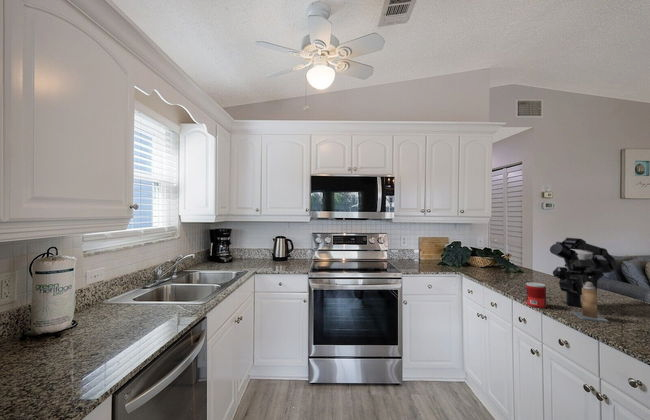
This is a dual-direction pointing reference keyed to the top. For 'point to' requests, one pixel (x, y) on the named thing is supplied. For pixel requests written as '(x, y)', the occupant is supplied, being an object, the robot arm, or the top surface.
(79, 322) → the top surface
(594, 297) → the pepper mill
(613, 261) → the robot arm
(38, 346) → the top surface
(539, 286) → the canned food
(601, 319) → the plate
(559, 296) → the top surface
